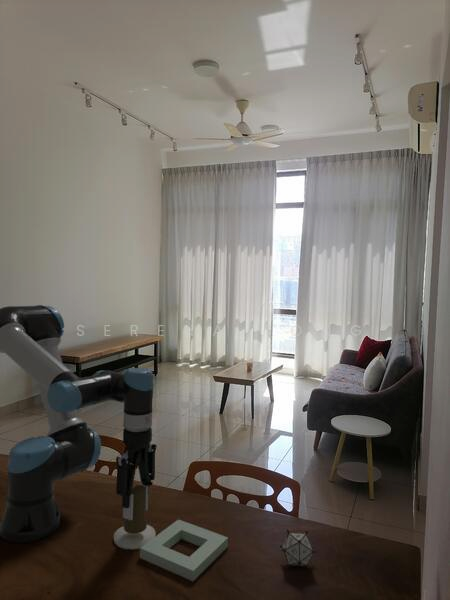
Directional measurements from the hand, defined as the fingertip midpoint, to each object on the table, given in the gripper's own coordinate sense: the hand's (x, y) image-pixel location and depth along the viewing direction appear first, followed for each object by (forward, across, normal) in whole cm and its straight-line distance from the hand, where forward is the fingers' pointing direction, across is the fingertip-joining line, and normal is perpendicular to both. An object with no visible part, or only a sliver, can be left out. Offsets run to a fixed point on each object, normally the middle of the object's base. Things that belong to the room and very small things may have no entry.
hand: (135, 513), depth 117 cm
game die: (+7, +13, -41) cm, 44 cm away
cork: (+4, 0, 0) cm, 4 cm away
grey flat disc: (+7, 0, 0) cm, 7 cm away
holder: (+7, +2, -15) cm, 17 cm away
